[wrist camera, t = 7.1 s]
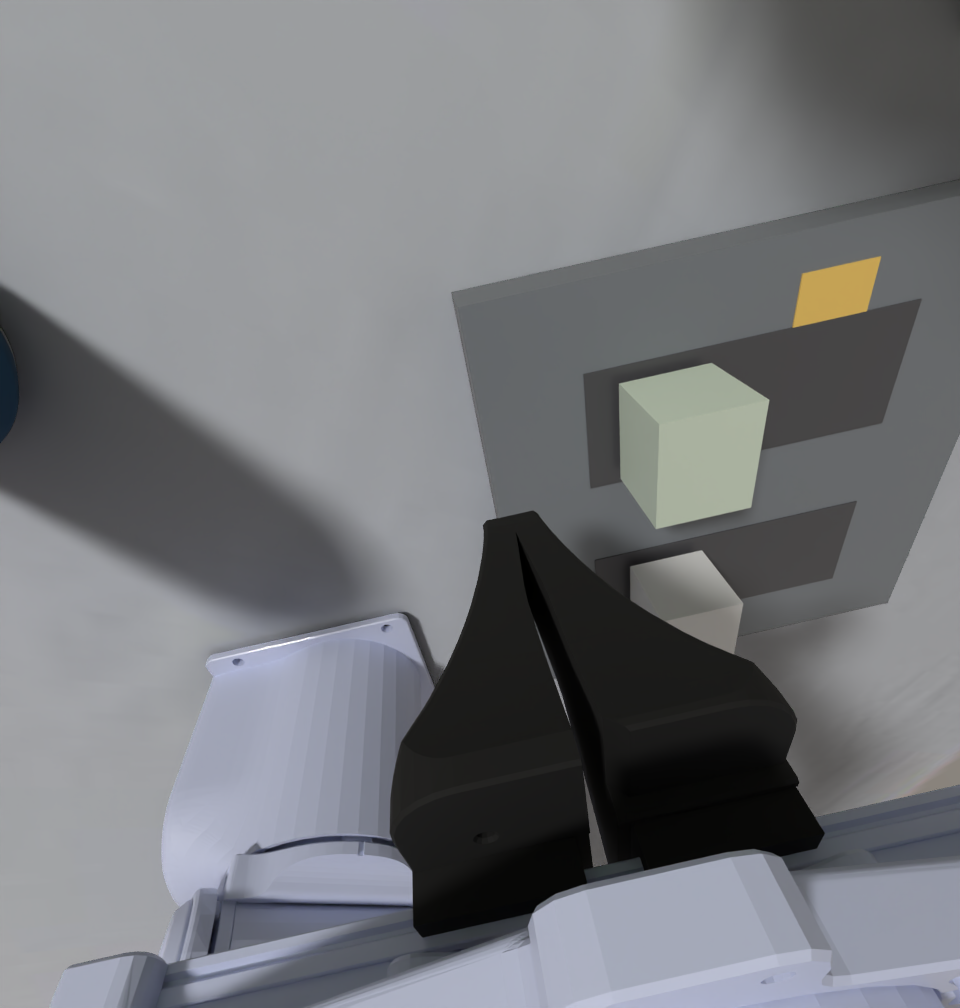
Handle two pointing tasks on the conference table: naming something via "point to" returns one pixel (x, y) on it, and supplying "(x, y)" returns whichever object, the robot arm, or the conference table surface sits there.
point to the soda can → (7, 387)
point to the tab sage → (690, 443)
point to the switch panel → (758, 364)
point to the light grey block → (689, 597)
